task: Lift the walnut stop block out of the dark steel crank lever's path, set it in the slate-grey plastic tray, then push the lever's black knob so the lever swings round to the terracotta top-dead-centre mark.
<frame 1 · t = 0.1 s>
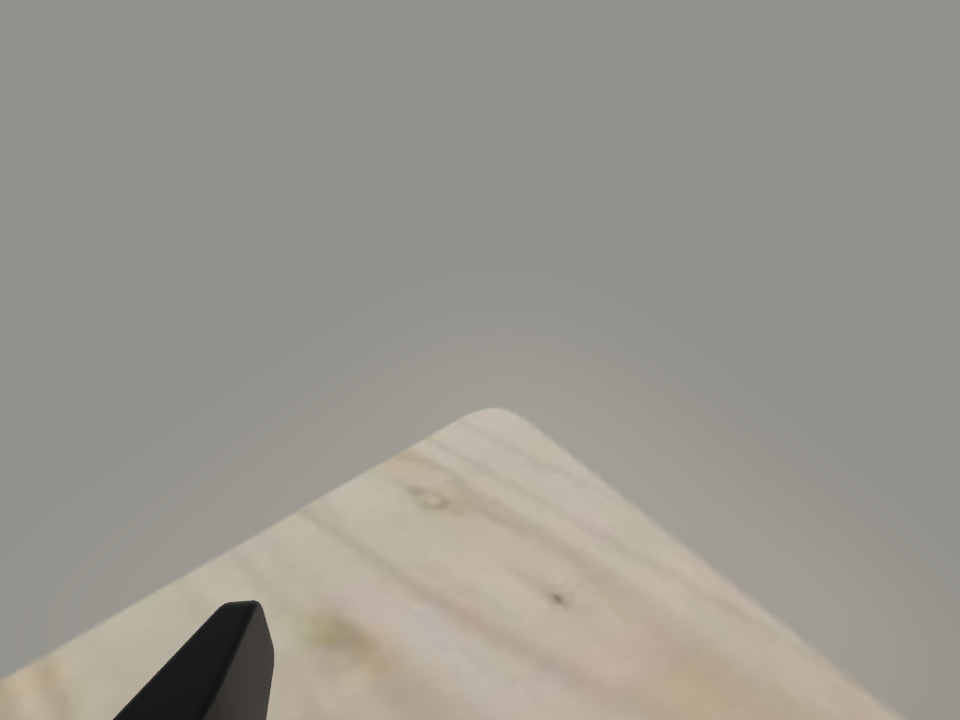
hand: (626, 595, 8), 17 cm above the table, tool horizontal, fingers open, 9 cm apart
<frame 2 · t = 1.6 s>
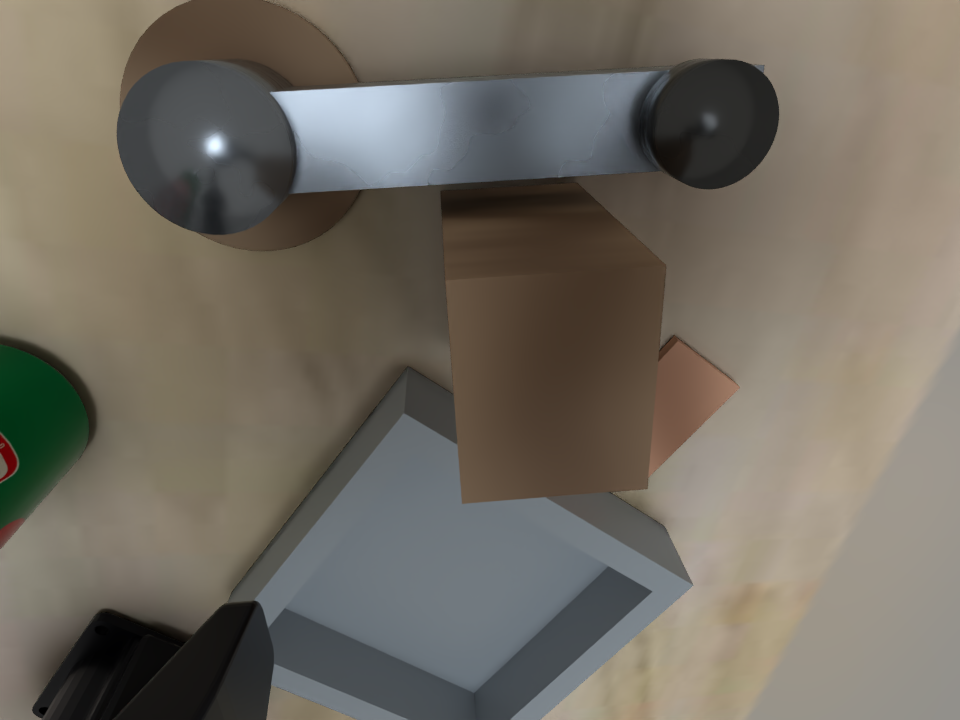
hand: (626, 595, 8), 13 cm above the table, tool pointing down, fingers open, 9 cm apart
crank base: (253, 131, 17), on the table
soda can: (18, 402, 21), on the table
stop block: (511, 268, 20), on the table
crank lever: (450, 131, 15), point 3 cm above the table, hinge at -50.0°
tray: (448, 559, 25), on the table
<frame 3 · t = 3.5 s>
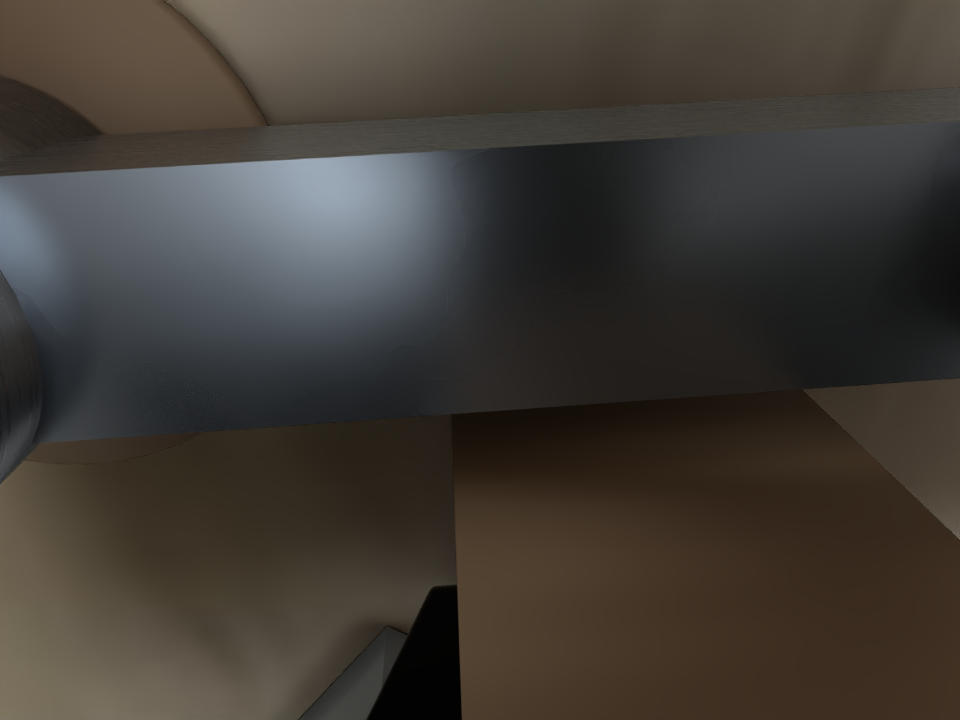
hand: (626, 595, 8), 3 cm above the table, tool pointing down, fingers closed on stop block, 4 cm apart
crank base: (38, 224, 8), on the table
stop block: (584, 471, 10), on the table, touching gripper
crank lever: (479, 267, 6), point 3 cm above the table, hinge at -50.0°
when the fingers open (5 cm above the table, at t = 8.0 s): stop block drops 1 cm, resting on tray.
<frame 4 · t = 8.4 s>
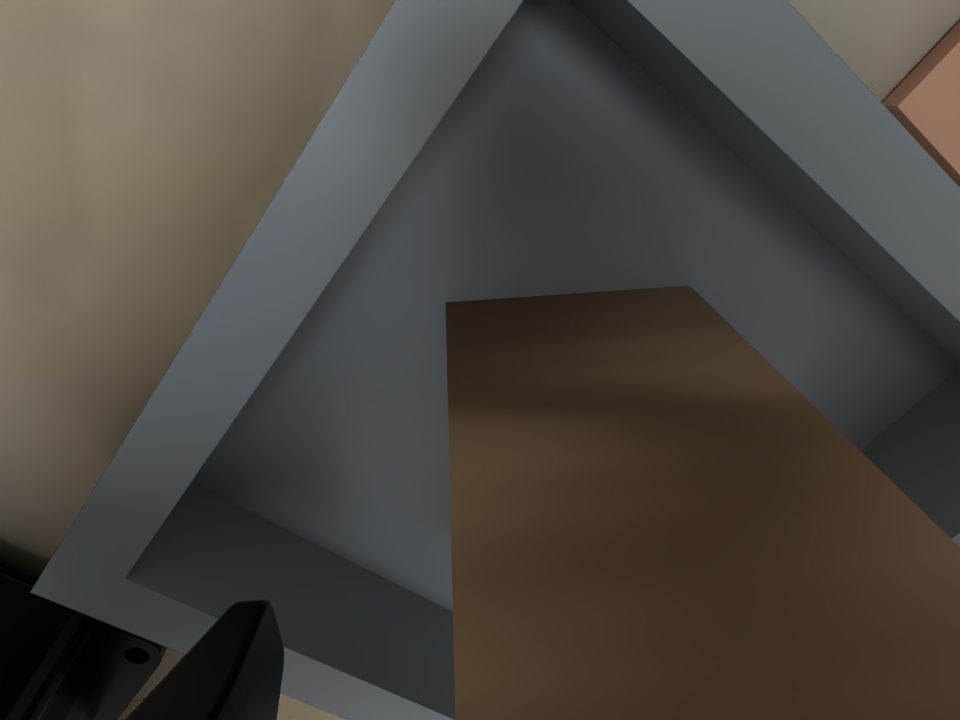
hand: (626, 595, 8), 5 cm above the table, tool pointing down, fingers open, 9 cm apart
stop block: (566, 424, 11), point 1 cm above the table, touching tray
tray: (564, 405, 12), on the table
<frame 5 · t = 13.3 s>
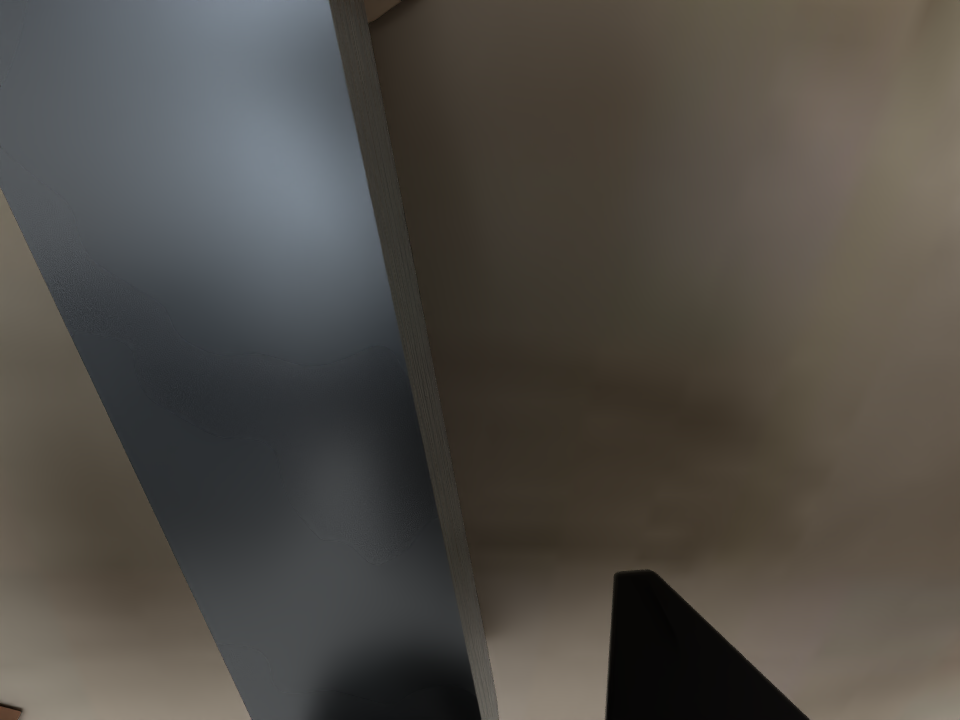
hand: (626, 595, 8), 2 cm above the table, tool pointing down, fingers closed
crank lever: (276, 351, 5), point 3 cm above the table, hinge at -50.5°, touching gripper
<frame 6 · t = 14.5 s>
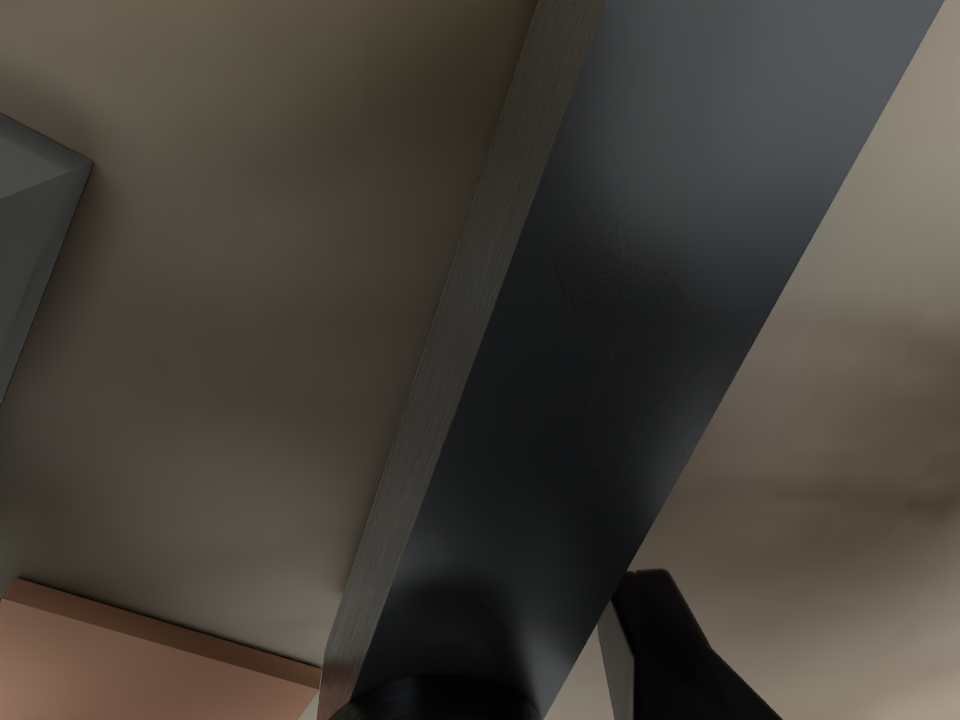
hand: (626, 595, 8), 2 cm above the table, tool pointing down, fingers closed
crank lever: (614, 275, 6), point 3 cm above the table, hinge at -76.4°, touching gripper
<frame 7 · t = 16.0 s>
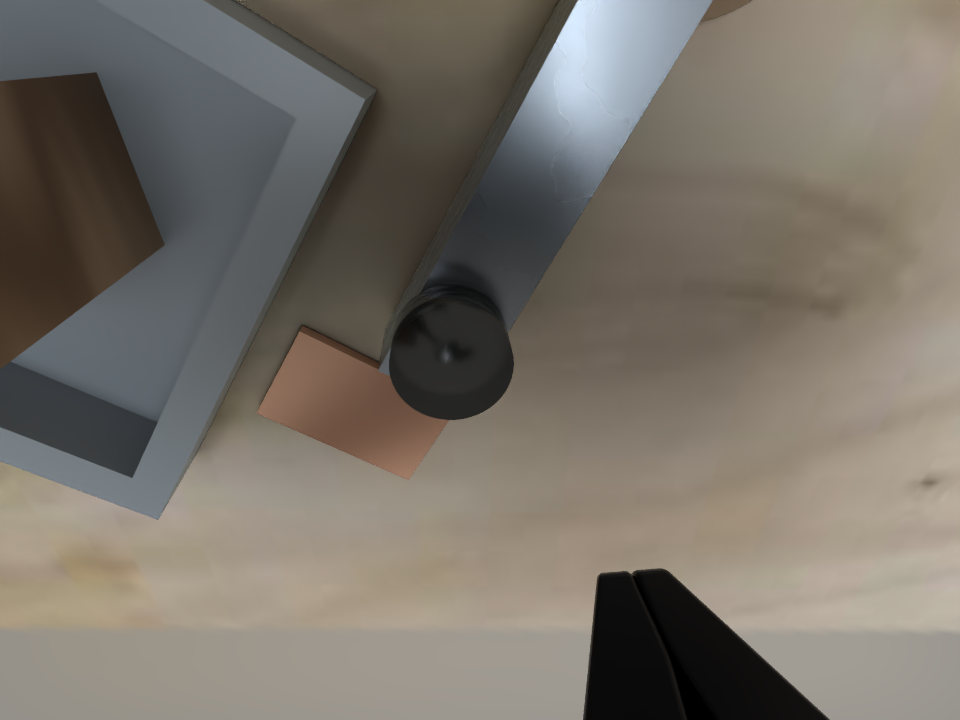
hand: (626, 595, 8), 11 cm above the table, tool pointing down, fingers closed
stop block: (29, 181, 15), point 1 cm above the table, touching tray
crank lever: (578, 102, 13), point 3 cm above the table, hinge at -87.7°
tray: (45, 179, 16), on the table
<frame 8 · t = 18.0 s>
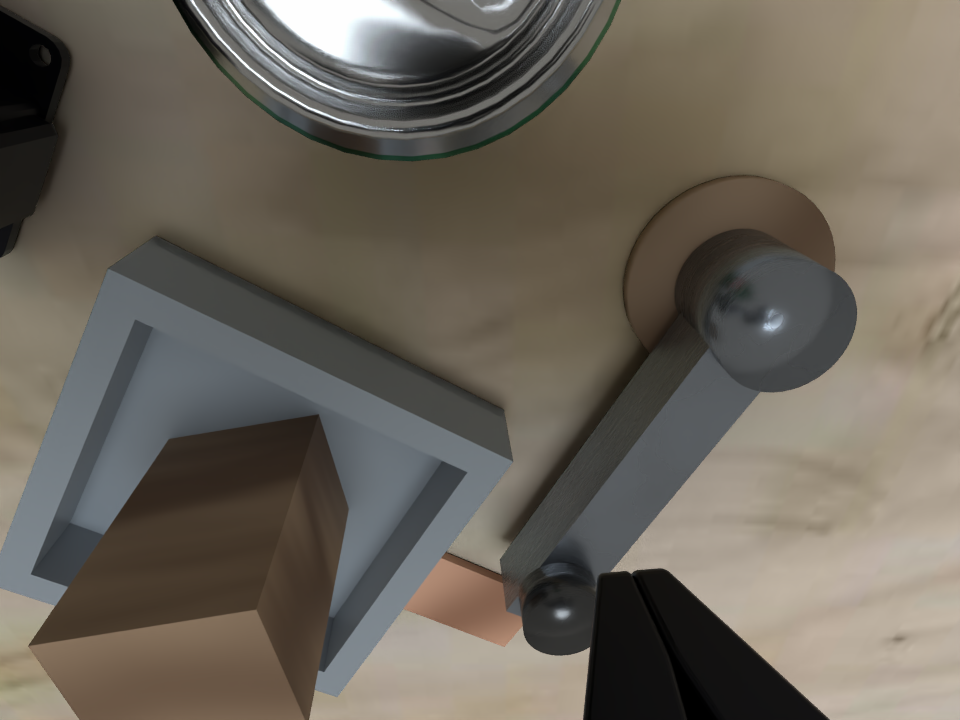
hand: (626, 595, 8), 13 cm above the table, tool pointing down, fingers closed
crank base: (723, 279, 20), on the table
stop block: (262, 475, 22), point 1 cm above the table, touching tray
crank lever: (650, 454, 20), point 3 cm above the table, hinge at -87.7°
tray: (268, 466, 22), on the table
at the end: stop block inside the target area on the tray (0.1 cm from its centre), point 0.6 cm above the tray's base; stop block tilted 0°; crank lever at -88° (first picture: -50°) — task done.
